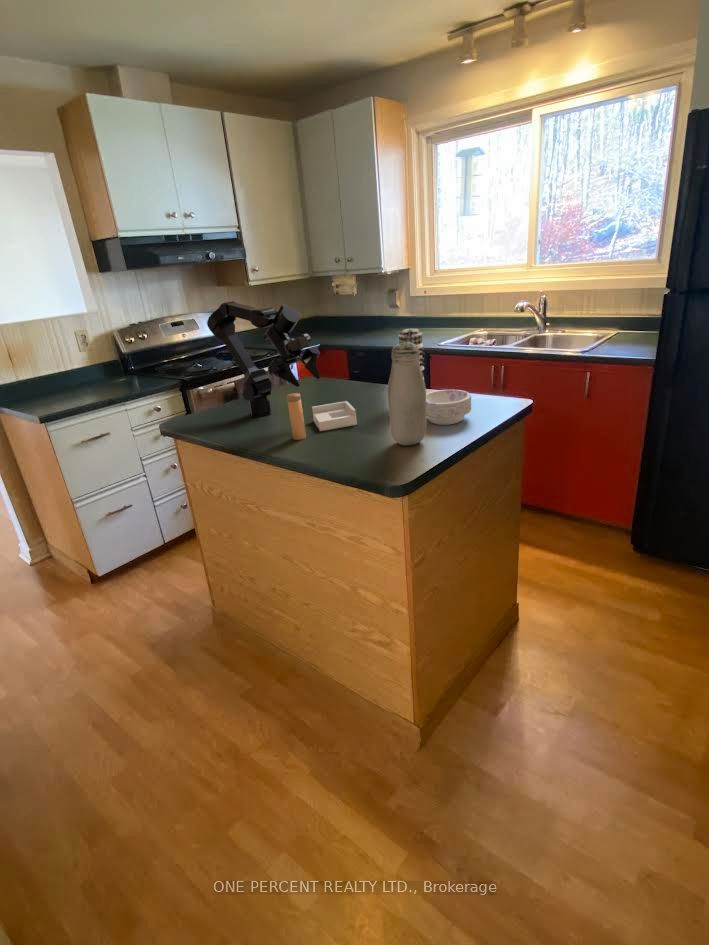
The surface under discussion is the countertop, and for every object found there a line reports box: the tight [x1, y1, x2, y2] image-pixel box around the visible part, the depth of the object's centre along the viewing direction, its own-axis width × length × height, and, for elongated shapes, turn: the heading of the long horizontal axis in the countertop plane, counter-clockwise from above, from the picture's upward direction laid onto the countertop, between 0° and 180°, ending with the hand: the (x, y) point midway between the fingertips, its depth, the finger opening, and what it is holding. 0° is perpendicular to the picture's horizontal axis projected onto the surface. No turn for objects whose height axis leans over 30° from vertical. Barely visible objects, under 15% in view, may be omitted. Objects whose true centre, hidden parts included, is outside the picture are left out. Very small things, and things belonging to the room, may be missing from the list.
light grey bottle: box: [387, 342, 427, 446], centre depth 139 cm, size 10×10×28 cm
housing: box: [311, 400, 358, 432], centre depth 167 cm, size 12×11×5 cm
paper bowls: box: [426, 389, 472, 426], centre depth 158 cm, size 15×15×8 cm
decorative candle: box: [398, 327, 426, 384], centre depth 175 cm, size 9×9×25 cm
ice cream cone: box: [286, 392, 307, 441], centre depth 155 cm, size 4×4×14 cm
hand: (309, 382), depth 162 cm, fingers open, 9 cm apart
